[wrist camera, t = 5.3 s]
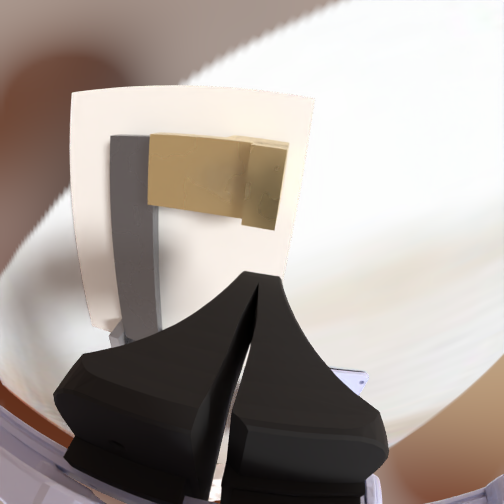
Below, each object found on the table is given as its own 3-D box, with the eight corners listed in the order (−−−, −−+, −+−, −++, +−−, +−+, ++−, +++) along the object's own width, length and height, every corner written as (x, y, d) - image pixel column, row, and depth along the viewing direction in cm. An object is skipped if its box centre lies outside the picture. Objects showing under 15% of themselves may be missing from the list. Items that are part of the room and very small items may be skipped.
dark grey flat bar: (165, 349, 23) (159, 361, 21) (133, 340, 23) (126, 350, 22) (163, 135, 16) (152, 137, 14) (120, 133, 16) (107, 136, 14)
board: (265, 357, 24) (259, 393, 21) (100, 316, 26) (78, 342, 22) (313, 100, 16) (318, 94, 12) (84, 92, 17) (48, 93, 13)
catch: (279, 205, 17) (274, 230, 13) (171, 189, 17) (140, 209, 14) (289, 142, 15) (287, 149, 12) (175, 130, 16) (142, 135, 12)
